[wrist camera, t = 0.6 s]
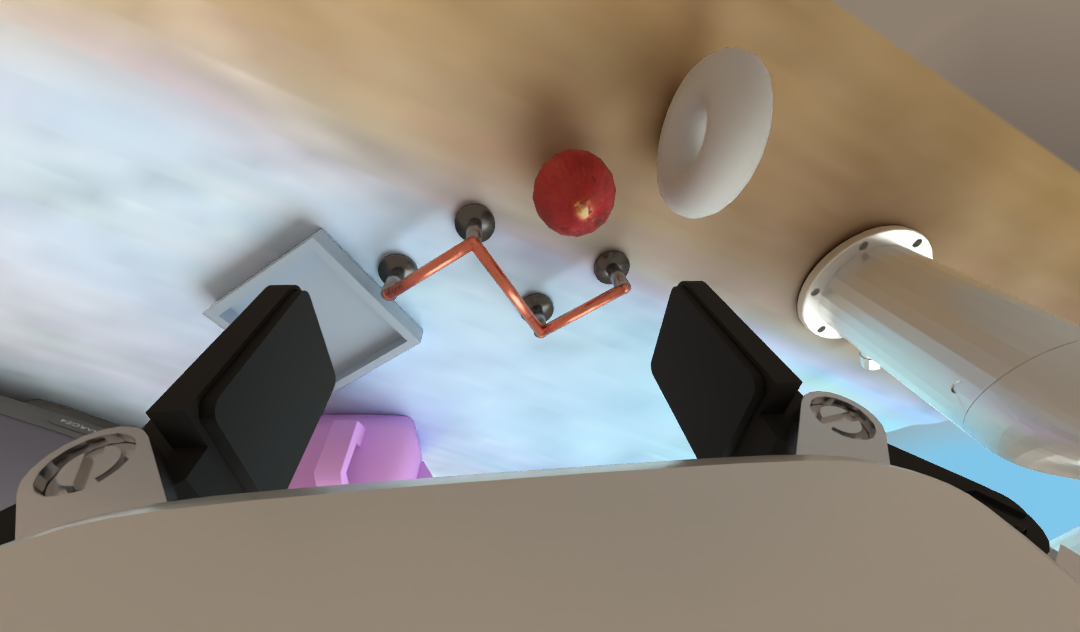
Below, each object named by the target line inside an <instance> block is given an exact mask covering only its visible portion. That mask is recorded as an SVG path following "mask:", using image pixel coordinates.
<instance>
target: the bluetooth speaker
mask: <svg viewBox="0 0 1080 632" xmlns="http://www.w3.org/2000/svg"><path fill="white" fill-rule="evenodd" d="M114 427H119V425H116V424H113V423H111V422H108V421H105V420H102V419H100V418H97V417H94V416H91V415H88V414H86V413H83V412H80V411H77V410H75V409H72V408H68V407H65V406H62V405H59V404H56V403H52V402H48V401H44V400H39V399H34V400H31V401H28V402H22V401H19V400H16V399H12V398H8V397H5V396H1V395H0V511H1V510H4V509H6V508H8V507H10V506H12V505H14V504H16V496H17V490H18V488H19V485H20V482H21V480H22V479H23V478H24V477H25V476H26V474H27V473H28V472H29V471H30V469H31V468H33V467H34V466H35V465H36V464H37V463H39V462H40V461H41V460H42V459H43V458H45V457H46V456H47V455H49V454H51V453H52V452H54V451H55V450H57V449H59V448H60V447H62V446H64V445H65V444H67V443H70V442H72V441H74V440H76V439H78V438H80V437H82V436H85V435H88V434H91V433H94V432H97V431H100V430H103V429H108V428H114Z"/></svg>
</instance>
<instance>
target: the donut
mask: <svg viewBox="0 0 1080 632" xmlns="http://www.w3.org/2000/svg"><path fill="white" fill-rule="evenodd" d="M773 105H774V101H773V93H772V85H771V79H770V74H769V73H768V71H767V69H766V68H765V66H764V64H763V62H762V61H761V59H760V58H759V57H758V56H757V55H756V54H754V53H752V52H749V51H747V50H744V49H741V48H738V47H726V48H724V49H721V50H719V51H716V52H714V53H711V54H709V55H707V56H705V57H704V58H703V59H702V60H700V61H699V62H698V63H697V64H696V65H695V66H694V67H693V68H692V69H691V70H690V71H689V72H688V73H687V75H686V77H685V78H684V80H683V81H682V83H681V84H680V86H679V88H678V89H677V91H676V93H675V95H674V97H673V100H672V102H671V104H670V106H669V109H668V111H667V114H666V117H665V120H664V123H663V127H662V130H661V135H660V140H659V145H658V155H657V178H658V185H659V189H660V193H661V196H662V198H663V199H664V201H665V202H666V204H667V205H668V207H669V208H670V209H671V210H672V211H673V212H675V213H677V214H679V215H682V216H684V217H687V218H691V219H694V218H701V217H705V216H709V215H712V214H715V213H717V212H719V211H720V210H721V209H723V208H724V207H725V206H727V205H728V204H729V203H730V202H732V201H733V200H734V199H735V198H736V197H737V196H738V195H739V193H740V192H741V191H742V189H743V188H744V187H745V185H746V184H747V183H748V182H749V180H750V179H751V177H752V175H753V173H754V171H755V169H756V167H757V165H758V163H759V161H760V159H761V157H762V155H763V152H764V149H765V146H766V142H767V139H768V136H769V133H770V129H771V122H772V113H773Z"/></svg>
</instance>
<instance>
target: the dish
mask: <svg viewBox="0 0 1080 632" xmlns="http://www.w3.org/2000/svg"><path fill="white" fill-rule="evenodd" d="M269 285H297V286H299V287H300V288H301V290H302V291H307V292H308V293H309V295H310V297H311V300H312V303H313V307H314V310H315V313H316V316H317V319H318V322H319V325H320V328H321V331H322V334H323V337H324V340H325V343H326V347H327V350H328V353H329V356H330V359H331V362H332V365H333V368H334V371H335V375H336V382H335V387H334V389H333V391H332V393H333V392H335V391H337V390H339V389H340V388H342V387H344V386H346V385H347V384H349V383H351V382H353V381H354V380H356V379H358V378H360V377H361V376H363V375H365V374H367V373H368V372H370V371H372V370H374V369H375V368H377V367H379V366H381V365H382V364H384V363H386V362H388V361H389V360H391V359H393V358H395V357H396V356H398V355H400V354H402V353H403V352H405V351H407V350H409V349H410V348H412V347H414V346H416V345H417V344H419V343H420V342H421V338H422V334H423V330H422V329H421V328H420V327H419V326H418V325H417V324H416V323H415V322H414V321H413V320H412V319H411V318H410V317H409V316H408V315H407V314H406V313H405V312H404V311H403V310H402V309H401V308H400V307H399V306H398V305H397V304H396V303H395V302H394V301H387V300H385V299H383V298H382V296H381V290H382V289H381V288H380V287H379V285H378V284H377V283H376V282H375V281H374V280H373V279H372V278H371V277H370V276H369V275H368V274H367V273H366V272H365V271H364V270H363V269H362V268H361V267H360V266H359V265H358V264H357V263H356V262H355V261H354V260H353V259H352V258H351V257H350V256H349V255H348V254H347V253H346V252H345V251H344V250H343V249H342V248H341V247H340V246H339V245H338V244H337V243H336V242H335V241H334V240H333V239H332V238H331V237H330V236H329V235H328V234H327V233H326V232H325V231H324V230H323V229H322V228H321V229H320V230H318V231H317V232H316V233H314V234H313V235H311V236H310V237H308V238H307V239H305V240H304V241H303V242H301V243H300V244H298V245H297V246H295V247H294V248H293V249H291V250H290V251H288V252H287V253H285V254H284V255H282V256H281V257H280V258H278V259H277V260H275V261H274V262H272V263H271V264H269V265H268V266H267V267H265V268H264V269H262V270H261V271H259V272H258V273H256V274H255V275H254V276H252V277H251V278H249V279H248V280H246V281H245V282H243V283H242V284H241V285H239V286H238V287H236V288H235V289H233V290H232V291H230V292H229V293H228V294H226V295H225V296H223V297H222V298H220V299H219V300H217V301H216V302H215V303H214V304H213V305H212V306H210V307H209V308H208V309H207V310H206V311H205V312H204V313H202V314H204V315H205V316H206V317H208V318H209V319H210V320H212V321H213V322H215V323H216V324H217V325H219V326H220V327H222V328H223V329H224V330H225V329H226V328H227V327H228V326H229V325H230V324H231V323H232V322H233V321H234V320H235V319H236V318H237V317H238V316H239V315H240V314H241V313H242V312H243V311H244V310H245V309H246V308H247V306H248V305H249V304H250V303H251V302H252V301H253V300H254V299H255V298H256V297H257V296H258V295H259V294H260V293H261V292H262V291H263V290H264V289H265V288H266V287H267V286H269Z"/></svg>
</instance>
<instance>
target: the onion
mask: <svg viewBox="0 0 1080 632" xmlns="http://www.w3.org/2000/svg"><path fill="white" fill-rule="evenodd" d="M615 193H616V188H615V184H614V180H613V176H612V173H611V172H610V170H609V169H608V168H607V166H606V165H605V164H604V162H603V161H602V160H601V159H600V158H598V157H597V156H595V155H593V154H592V153H590V152H588V151H583V150H573V149H569V150H566V151H563V152H560V153H558V154H555V155H554V156H553V157H552V158H551V159H549V160H548V161H547V162H546V163H545V164H544V165H543V166H542V168H541V170H540V172H539V174H538V176H537V177H536V180H535V184H534V192H533V201H534V204H535V207H536V210H537V213H538V215H539V216H540V218H541V219H542V220H543V221H544V222H545V224H546V225H547V226H548V227H549V228H550V229H552V230H554V231H556V232H557V233H559V234H561V235H567V236H575V237H578V236H582V235H585V234H588V233H592V232H593V231H595V230H596V229H597V228H598V227H600V226H601V225H602V224H604V223H605V222H606V220H607V218H608V216H609V214H610V212H611V211H612V209H613V206H614V199H615Z"/></svg>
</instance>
